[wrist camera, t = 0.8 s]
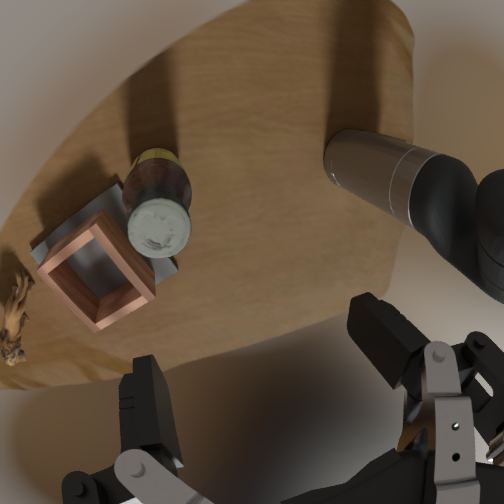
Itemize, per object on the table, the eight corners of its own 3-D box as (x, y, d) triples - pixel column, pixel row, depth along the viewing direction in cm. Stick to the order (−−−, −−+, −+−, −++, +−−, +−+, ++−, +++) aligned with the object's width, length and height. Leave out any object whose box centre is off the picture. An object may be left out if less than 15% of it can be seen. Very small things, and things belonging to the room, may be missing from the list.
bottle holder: (118, 181, 32) (109, 196, 27) (178, 267, 40) (182, 294, 35) (32, 249, 32) (15, 273, 26) (93, 318, 40) (88, 347, 34)
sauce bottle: (150, 203, 35) (145, 297, 18) (122, 166, 31) (82, 230, 15) (192, 173, 35) (225, 242, 18) (165, 134, 31) (167, 162, 15)
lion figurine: (35, 337, 38) (23, 375, 30) (10, 328, 35) (-4, 364, 28) (36, 271, 33) (17, 308, 26) (9, 261, 31) (-15, 295, 23)
